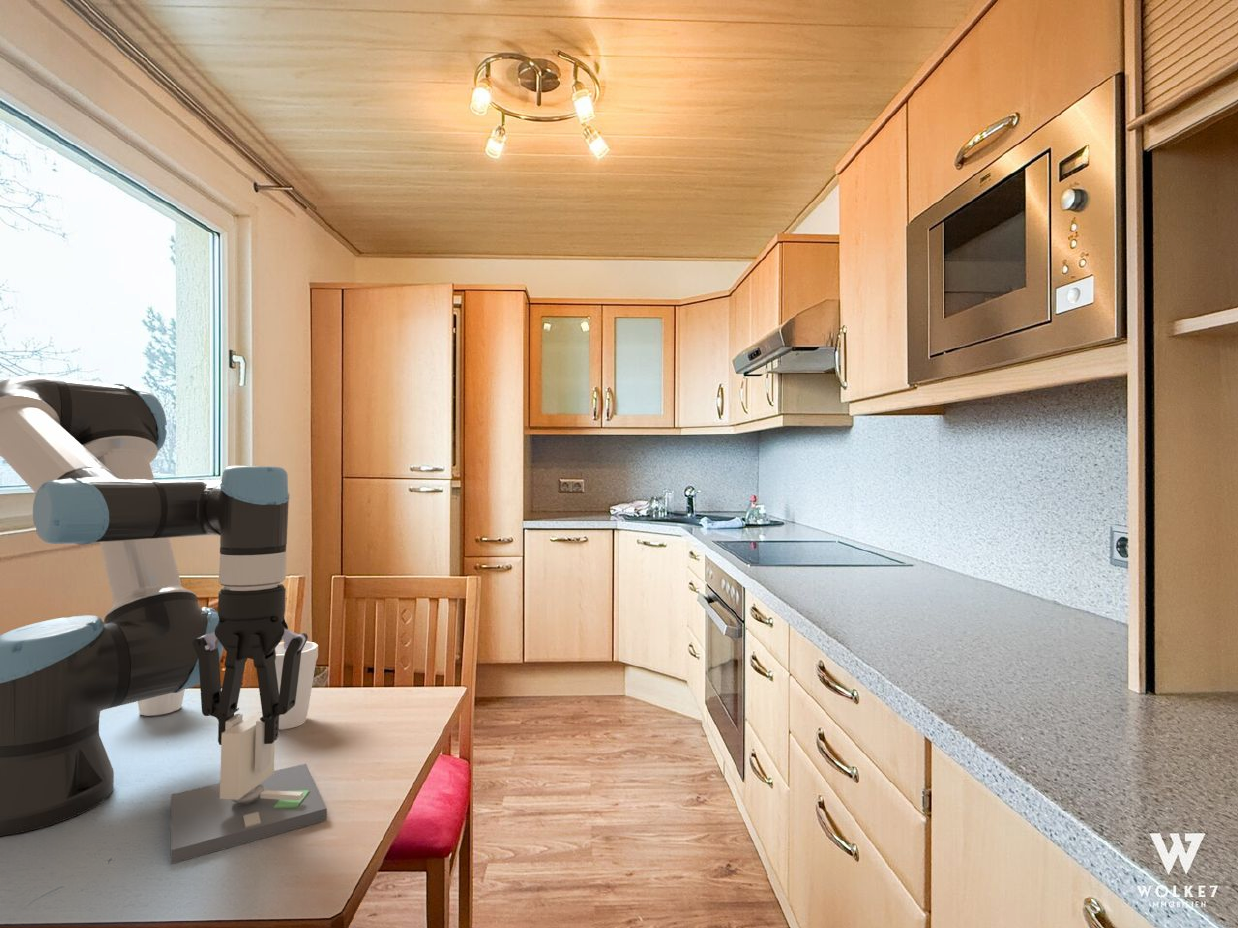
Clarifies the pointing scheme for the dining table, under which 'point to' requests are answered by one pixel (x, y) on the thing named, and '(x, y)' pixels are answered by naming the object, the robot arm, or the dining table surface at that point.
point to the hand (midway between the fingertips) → (247, 768)
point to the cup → (161, 704)
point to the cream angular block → (246, 766)
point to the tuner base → (241, 814)
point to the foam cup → (304, 685)
